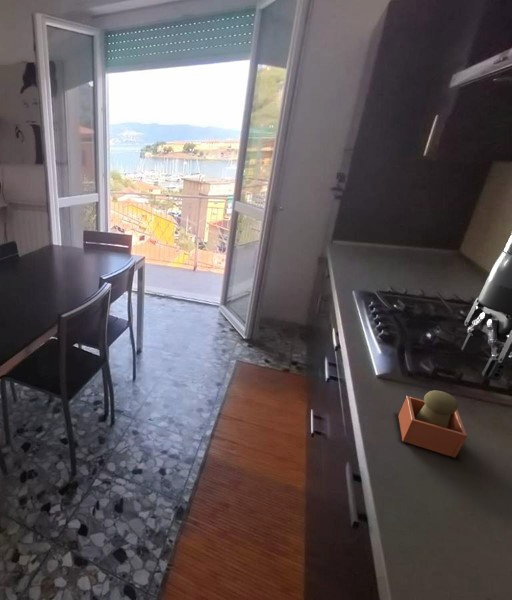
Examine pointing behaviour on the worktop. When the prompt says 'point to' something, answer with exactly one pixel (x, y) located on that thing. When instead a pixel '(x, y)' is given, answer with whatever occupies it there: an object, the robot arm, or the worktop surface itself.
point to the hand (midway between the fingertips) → (478, 364)
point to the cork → (437, 408)
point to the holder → (430, 430)
